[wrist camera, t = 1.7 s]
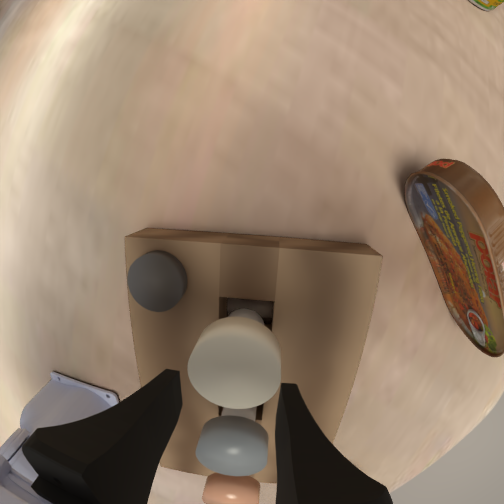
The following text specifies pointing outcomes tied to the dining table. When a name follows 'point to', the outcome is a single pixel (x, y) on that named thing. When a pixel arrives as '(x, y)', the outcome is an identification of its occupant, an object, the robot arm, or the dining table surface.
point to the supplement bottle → (487, 4)
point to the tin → (463, 246)
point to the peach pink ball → (231, 490)
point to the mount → (283, 324)
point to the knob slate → (233, 443)
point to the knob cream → (236, 361)
